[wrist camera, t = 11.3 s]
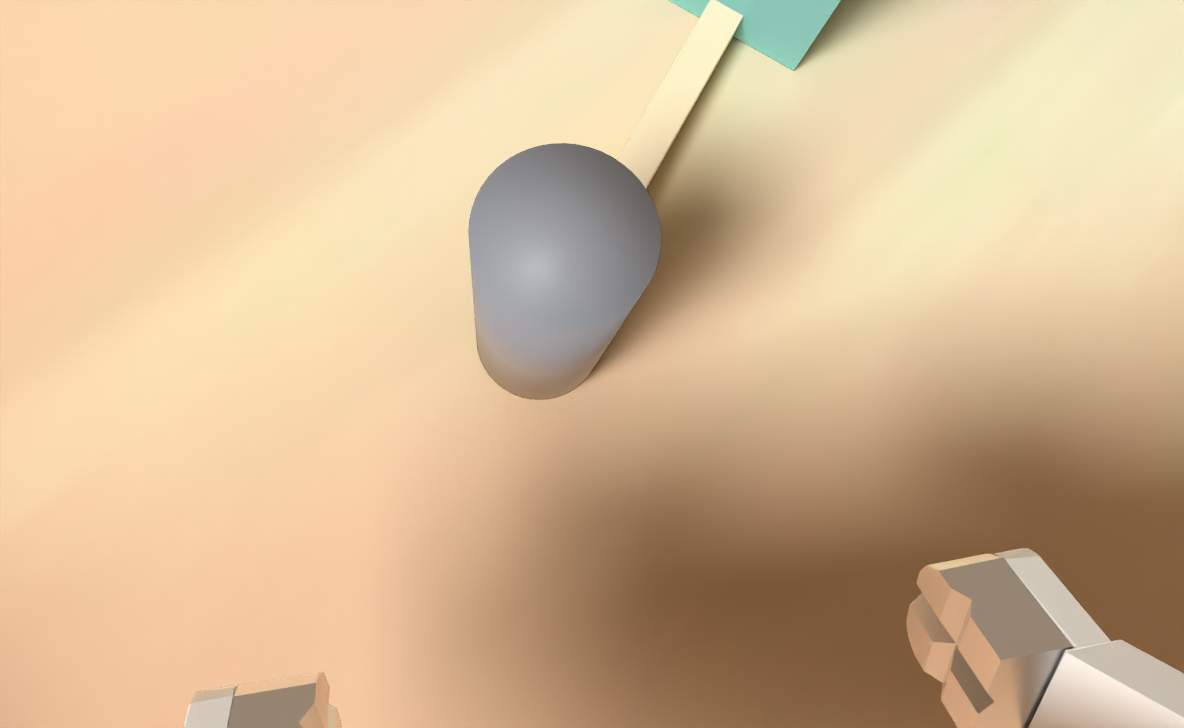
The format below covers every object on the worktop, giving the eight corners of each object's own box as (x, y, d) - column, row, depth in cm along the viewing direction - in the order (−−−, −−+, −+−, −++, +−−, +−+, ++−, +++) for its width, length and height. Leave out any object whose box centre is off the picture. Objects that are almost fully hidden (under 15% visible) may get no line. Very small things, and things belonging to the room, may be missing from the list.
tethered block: (718, -142, 25) (841, -500, 16) (864, -59, 25) (1064, -372, 16) (422, 343, 21) (374, 216, 13) (593, 439, 21) (666, 379, 13)
